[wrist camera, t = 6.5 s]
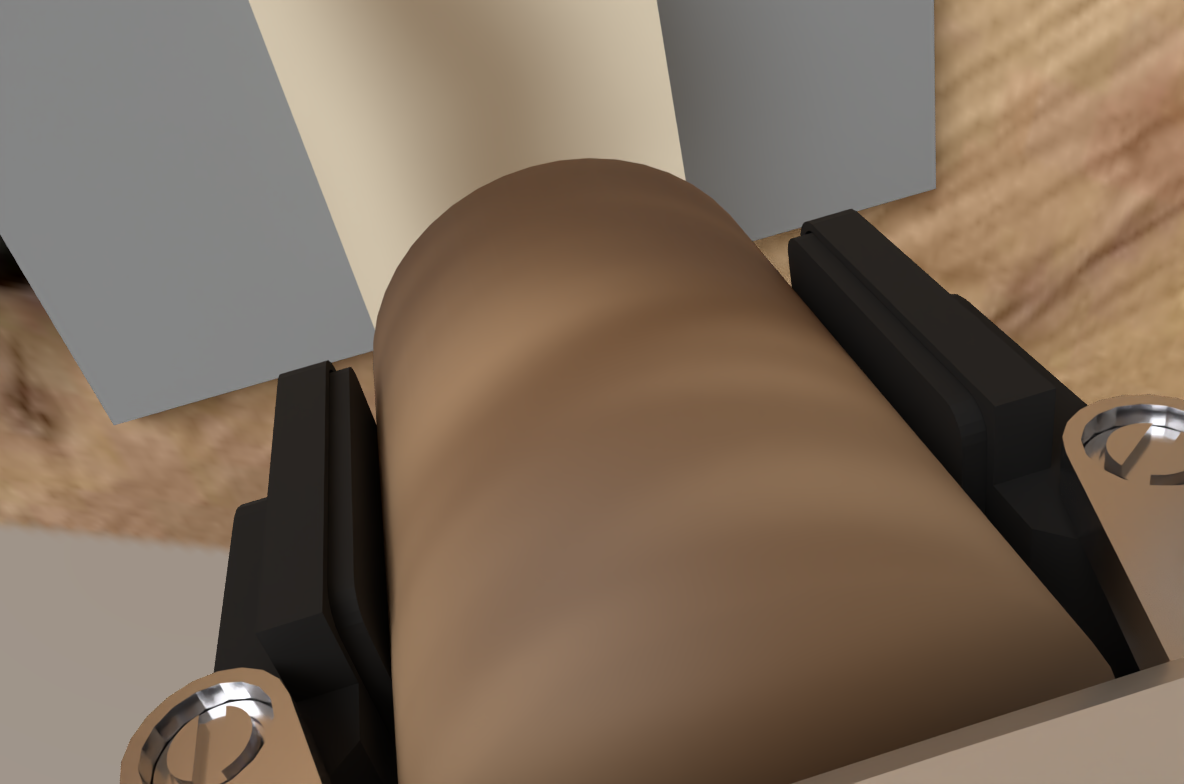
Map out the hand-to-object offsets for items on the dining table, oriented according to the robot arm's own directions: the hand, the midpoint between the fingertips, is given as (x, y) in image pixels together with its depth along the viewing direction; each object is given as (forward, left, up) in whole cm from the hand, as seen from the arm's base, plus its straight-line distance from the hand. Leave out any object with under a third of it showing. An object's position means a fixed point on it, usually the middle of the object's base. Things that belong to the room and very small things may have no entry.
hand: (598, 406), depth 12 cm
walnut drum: (0, 0, -1) cm, 1 cm away
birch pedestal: (0, 0, -14) cm, 14 cm away
